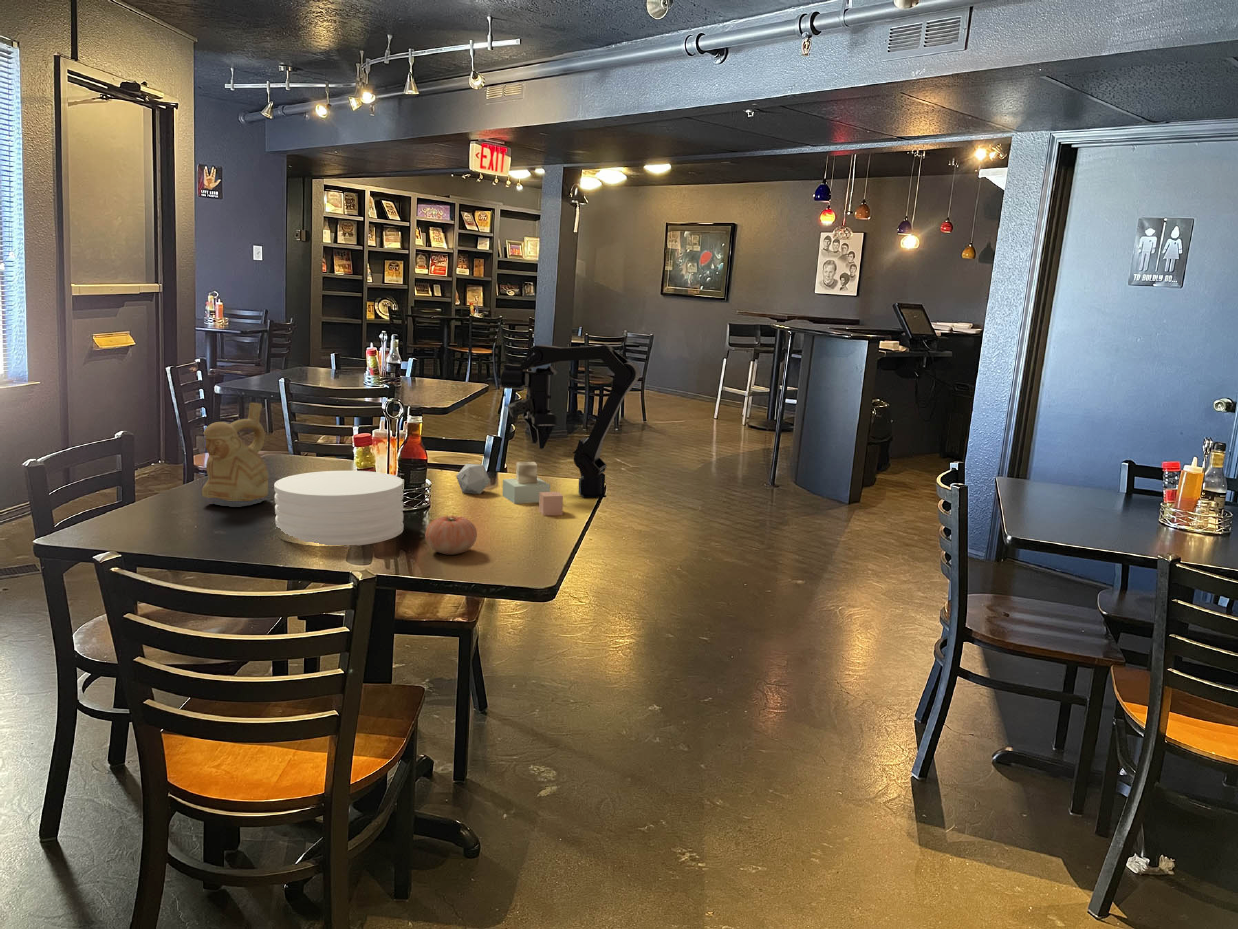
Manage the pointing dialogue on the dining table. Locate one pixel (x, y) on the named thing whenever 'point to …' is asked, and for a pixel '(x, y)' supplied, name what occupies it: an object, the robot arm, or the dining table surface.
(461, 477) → the die
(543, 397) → the robot arm
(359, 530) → the plate stack
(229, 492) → the ceramic vessel
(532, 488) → the sage block
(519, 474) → the birch cube
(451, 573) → the dining table surface
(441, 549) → the pumpkin
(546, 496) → the terracotta cube
